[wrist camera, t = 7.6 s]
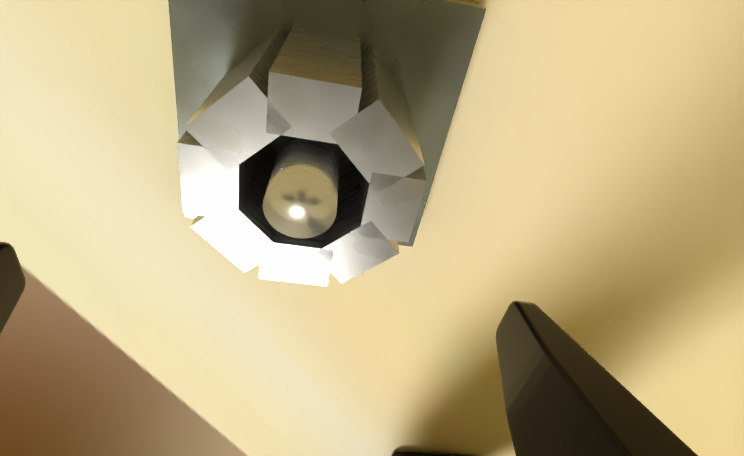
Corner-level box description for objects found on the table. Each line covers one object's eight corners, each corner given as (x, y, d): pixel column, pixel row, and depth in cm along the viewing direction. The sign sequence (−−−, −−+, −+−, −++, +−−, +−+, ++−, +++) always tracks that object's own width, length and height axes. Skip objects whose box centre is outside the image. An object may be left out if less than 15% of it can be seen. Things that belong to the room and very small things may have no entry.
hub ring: (384, 210, 17) (393, 293, 13) (225, 188, 16) (187, 270, 12) (424, 50, 13) (450, 103, 10) (223, 12, 13) (170, 54, 9)
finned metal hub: (410, 232, 19) (429, 344, 14) (193, 202, 17) (130, 314, 13) (478, 3, 14) (546, 55, 9) (176, -61, 12) (59, -42, 7)
